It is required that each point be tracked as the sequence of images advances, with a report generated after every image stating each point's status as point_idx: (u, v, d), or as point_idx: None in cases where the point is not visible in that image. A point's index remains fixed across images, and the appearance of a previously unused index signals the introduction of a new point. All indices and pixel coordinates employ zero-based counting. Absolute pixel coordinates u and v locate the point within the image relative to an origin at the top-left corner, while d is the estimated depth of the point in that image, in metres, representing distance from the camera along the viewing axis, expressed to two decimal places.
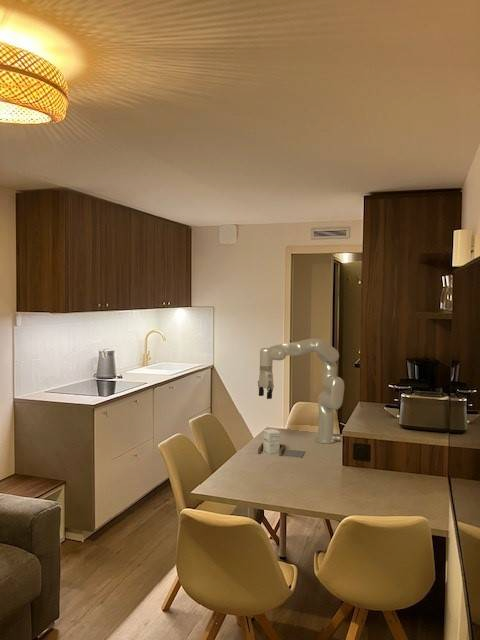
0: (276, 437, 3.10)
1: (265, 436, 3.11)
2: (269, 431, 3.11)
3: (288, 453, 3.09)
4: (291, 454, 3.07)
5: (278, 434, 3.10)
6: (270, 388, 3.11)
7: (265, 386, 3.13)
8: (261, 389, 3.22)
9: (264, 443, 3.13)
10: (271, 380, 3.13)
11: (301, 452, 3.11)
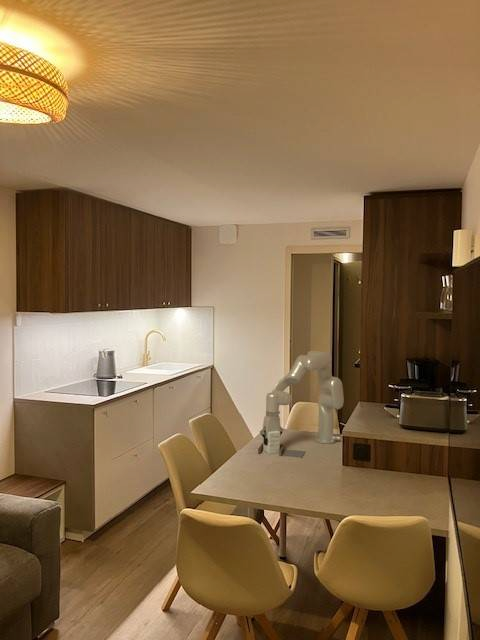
0: (276, 437, 3.10)
1: None
2: None
3: (288, 453, 3.09)
4: (291, 454, 3.07)
5: (278, 434, 3.10)
6: (281, 431, 3.15)
7: None
8: None
9: None
10: None
11: (301, 452, 3.11)
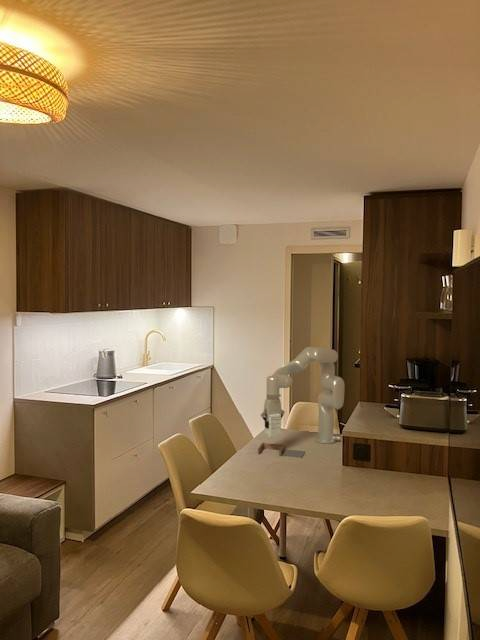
0: (277, 420, 3.10)
1: None
2: None
3: (288, 453, 3.09)
4: (291, 454, 3.07)
5: (279, 417, 3.10)
6: (282, 414, 3.15)
7: (279, 413, 3.12)
8: None
9: None
10: None
11: (301, 452, 3.11)
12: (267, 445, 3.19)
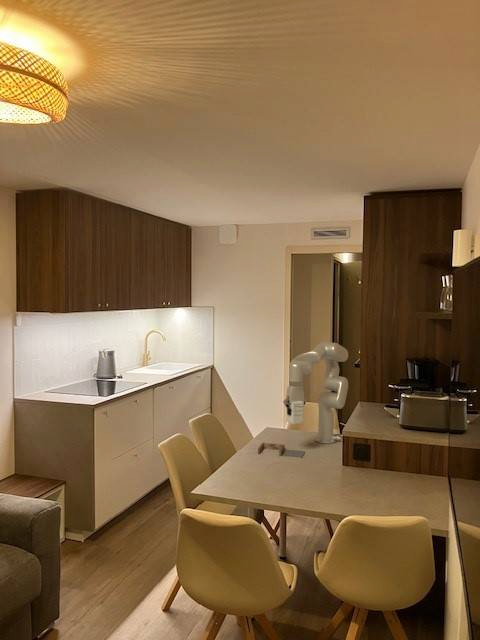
0: (299, 407, 3.06)
1: None
2: None
3: (288, 453, 3.09)
4: (291, 454, 3.07)
5: (302, 404, 3.06)
6: (305, 402, 3.12)
7: (302, 401, 3.09)
8: None
9: None
10: None
11: (301, 452, 3.11)
12: (267, 445, 3.19)
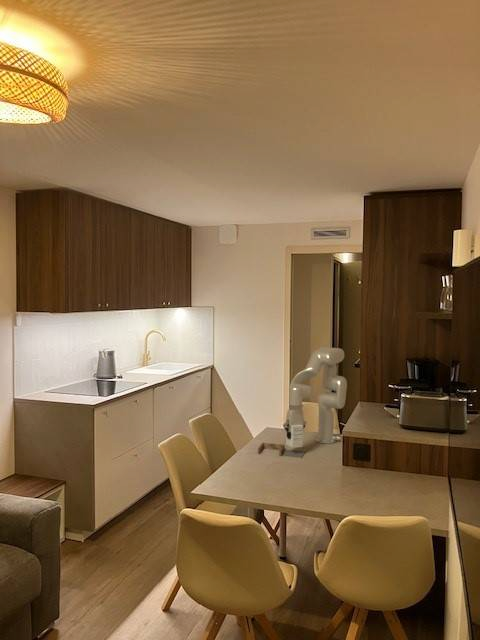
0: (299, 431, 3.06)
1: None
2: None
3: (288, 453, 3.09)
4: (291, 454, 3.07)
5: (301, 428, 3.07)
6: (304, 425, 3.12)
7: (301, 424, 3.09)
8: None
9: None
10: None
11: (301, 452, 3.11)
12: (267, 445, 3.19)
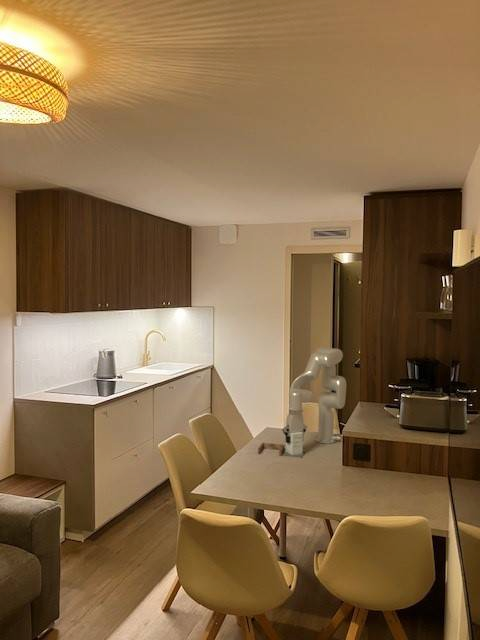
0: (299, 438, 3.07)
1: None
2: None
3: (288, 453, 3.09)
4: None
5: (301, 435, 3.07)
6: (305, 429, 3.12)
7: (301, 429, 3.09)
8: None
9: (287, 444, 3.10)
10: None
11: None
12: (267, 445, 3.19)
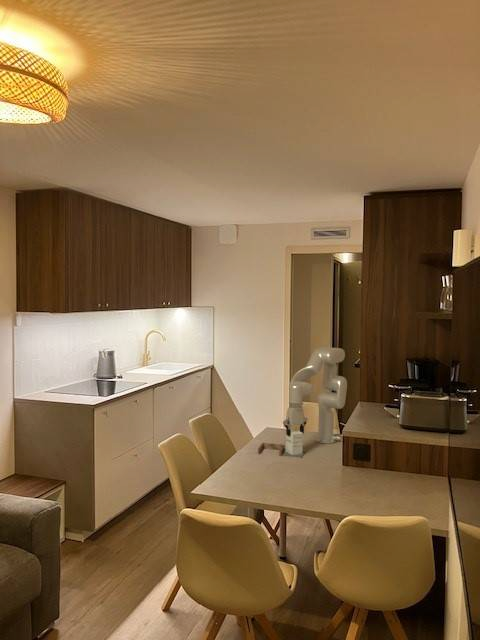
0: (299, 438, 3.07)
1: (288, 437, 3.08)
2: (292, 432, 3.08)
3: (288, 453, 3.09)
4: None
5: (301, 435, 3.07)
6: (306, 421, 3.13)
7: (302, 422, 3.10)
8: None
9: (287, 444, 3.10)
10: None
11: None
12: (267, 445, 3.19)
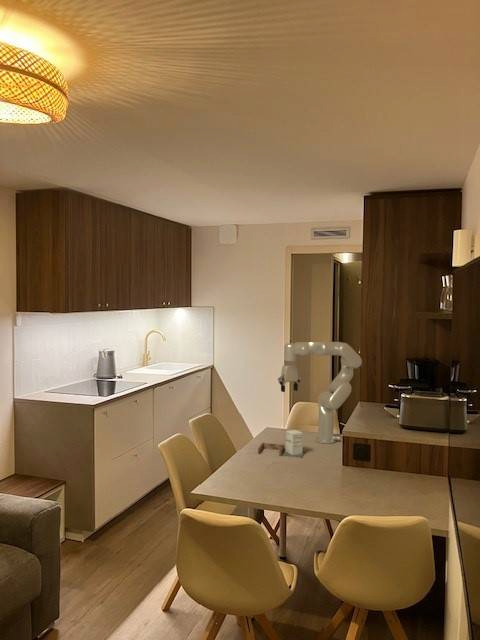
0: (299, 438, 3.07)
1: (288, 437, 3.08)
2: (292, 432, 3.08)
3: (288, 453, 3.09)
4: None
5: (301, 435, 3.07)
6: (299, 380, 3.31)
7: (296, 379, 3.28)
8: None
9: (287, 444, 3.10)
10: None
11: None
12: (267, 445, 3.19)
